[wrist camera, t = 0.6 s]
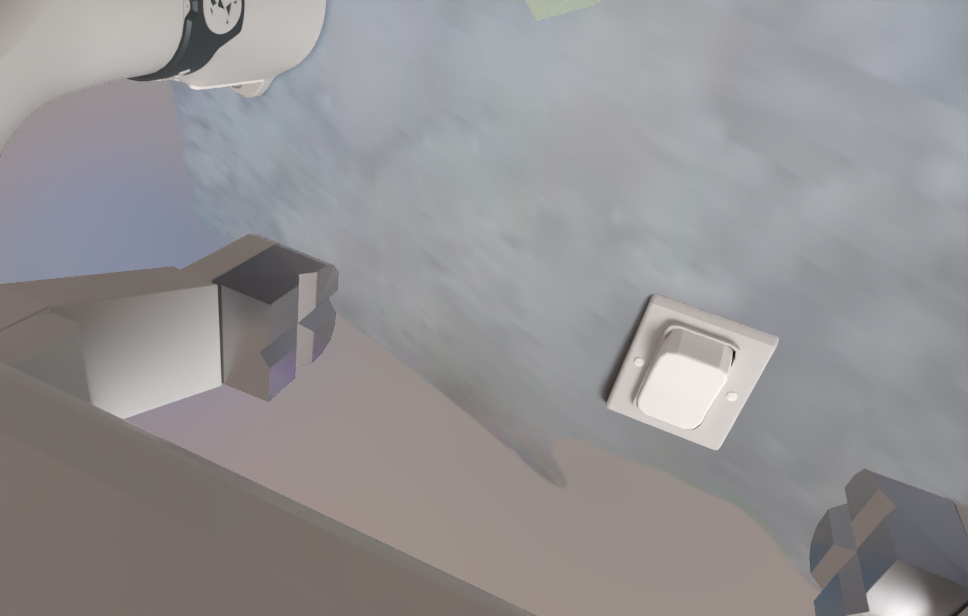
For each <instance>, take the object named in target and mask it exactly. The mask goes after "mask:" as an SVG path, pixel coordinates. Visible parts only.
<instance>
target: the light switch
mask: <svg viewBox="0 0 968 616" xmlns="http://www.w3.org/2000/svg"><path fill="white" fill-rule="evenodd" d="M778 341H779V338H778V337H776V336H773V335H771V334H768V333H765V332H762V331H759V330H757V329H754V328H751V327H748V326H745V325H742V324H740V323H737V322H734V321H731V320H728V319H726V318H723V317H720V316H717V315H714V314H711V313H709V312H706V311H703V310H700V309H697V308H695V307H692V306H689V305H686V304H683V303H681V302H678V301H675V300H672V299H669V298H666V297H664V296H661V295H658V294H653V295H652V296H651V299H650V301H649V303H648V306H647V308H646V310H645V313H644V315H643V317H642V320H641V322H640V325H639V327H638V329H637V332H636V334H635V336H634V339H633V341H632V343H631V346H630V348H629V350H628V353H627V355H626V357H625V360H624V362H623V364H622V367H621V369H620V371H619V374H618V376H617V378H616V381H615V383H614V386H613V388H612V390H611V393H610V395H609V397H608V400H607V402H606V407H607V408H608V409H611V410H613V411H616V412H618V413H621V414H623V415H626V416H629V417H631V418H634V419H636V420H639V421H641V422H644V423H646V424H649V425H652V426H654V427H657V428H659V429H662V430H664V431H667V432H669V433H672V434H675V435H677V436H680V437H682V438H685V439H687V440H690V441H693V442H695V443H698V444H700V445H703V446H705V447H708V448H710V449H713V450H718V449H719V448H720V447H721V445H722V443H723V441H724V440H725V438H726V436H727V434H728V433H729V431H730V429H731V427H732V425H733V424H734V422H735V420H736V418H737V416H738V415H739V413H740V411H741V409H742V407H743V406H744V404H745V402H746V400H747V399H748V397H749V395H750V393H751V391H752V390H753V388H754V386H755V384H756V382H757V381H758V379H759V377H760V375H761V373H762V372H763V370H764V368H765V366H766V365H767V363H768V361H769V359H770V357H771V356H772V354H773V352H774V350H775V348H776V347H777V344H778ZM729 346H730V347H731V348H730V347H729ZM733 349H734V350H735V356H734V358H733Z"/></svg>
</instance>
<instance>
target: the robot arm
mask: <svg viewBox="0 0 968 616" xmlns="http://www.w3.org/2000/svg"><path fill="white" fill-rule="evenodd" d="M325 9H326V0H0V156H1V154H2V152H3V150H4V149H5V147H6V146H7V144H8V143H9V141H10V139H11V138H12V137H13V136H14V134H15V133H16V132H17V131H18V129H19V128H20V127H21V126H22V125H23V124H24V123H25V122H26V121H27V120H28V118H29V117H30V116H31V115H33V114H34V113H35V112H36V111H38V110H39V109H40V108H41V107H43V106H44V105H45V104H47V103H49V102H51V101H53V100H54V99H56V98H59V97H61V96H64V95H67V94H69V93H73V92H76V91H79V90H82V89H86V88H89V87H93V86H97V85H100V84H104V83H108V82H113V81H117V80H122V79H130V80H135V81H164V80H170V79H172V80H175V81H182V82H184V83H186V84H188V85H189V87H190V88H191V89H197V90H202V89H210V88H218V87H228V88H230V89H232V90H234V91H235V92H237V93H239V94H241V95H243V96H245V97H249V98H251V97H259V96H260V95H262V94H263V93H264V92H265V91H266V89H267V88H268V87H269V85H270V84H271V82H272V80H273V79H274V78H275V77H276V76H277V75H279V74H281V73H282V72H285V71H287V70H289V69H291V68H293V67H294V66H296V65H297V64H299V63H300V62H301V61H302V60H303V59H304V58H305V57H306V56H307V55H308V54H309V53H310V51H311V50H312V48H313V47H314V45H315V43H316V41H317V39H318V37H319V35H320V32H321V29H322V25H323V21H324V16H325ZM338 273H339V272H338V271H337V269H336V268H335V266H334V265H332V264H330V263H327V262H325V261H322V260H320V259H317V258H315V257H312V256H310V255H307V254H305V253H303V252H300V251H298V250H295V249H293V248H290V247H288V246H285V245H281V244H280V243H278V242H275V241H273V240H270V239H267V238H265V237H262V236H259V235H253V234H248V235H246V236H244V237H242V238H241V239H239V240H237V241H235V242H233V243H231V244H229V245H227V246H225V247H223V248H221V249H220V250H217V251H216V252H214V253H212V254H210V255H208V256H206V257H204V258H202V259H200V260H198V261H197V262H194V263H193V264H191V265H189V266H187V267H185V268H183V269H181V270H180V269H178V268H175V267H173V266H172V267H162V268H153V269H143V270H133V271H123V272H114V273H105V274H94V275H85V276H75V277H66V278H56V279H46V280H36V281H26V282H16V283H7V284H0V616H537V615H534V614H532V613H530V612H528V611H526V610H524V609H522V608H520V607H518V606H516V605H514V604H511V603H509V602H507V601H505V600H503V599H501V598H499V597H497V596H494V595H493V594H490V593H488V592H486V591H484V590H482V589H480V588H477V587H476V586H473V585H471V584H469V583H467V582H465V581H463V580H461V579H459V578H456V577H455V576H453V575H450V574H448V573H446V572H444V571H442V570H440V569H438V568H436V567H433V566H432V565H429V564H427V563H425V562H423V561H421V560H419V559H417V558H415V557H413V556H410V555H408V554H406V553H404V552H402V551H400V550H398V549H396V548H394V547H391V546H389V545H387V544H385V543H383V542H381V541H379V540H377V539H375V538H372V537H370V536H368V535H366V534H364V533H362V532H360V531H358V530H355V529H353V528H351V527H349V526H347V525H345V524H343V523H340V522H339V521H337V520H334V519H332V518H330V517H328V516H326V515H324V514H322V513H320V512H317V511H315V510H313V509H311V508H309V507H307V506H305V505H303V504H301V503H299V502H296V501H294V500H292V499H290V498H288V497H286V496H284V495H281V494H279V493H277V492H275V491H273V490H271V489H269V488H267V487H265V486H263V485H260V484H258V483H256V482H254V481H252V480H250V479H248V478H246V477H243V476H241V475H239V474H237V473H235V472H233V471H231V470H229V469H227V468H225V467H222V466H220V465H218V464H216V463H214V462H212V461H210V460H208V459H205V458H203V457H201V456H199V455H197V454H195V453H193V452H191V451H188V450H186V449H184V448H182V447H180V446H178V445H176V444H174V443H172V442H170V441H168V440H165V439H164V438H161V437H159V436H157V435H155V434H153V433H151V432H149V431H147V430H145V429H143V428H140V427H138V426H136V425H134V424H132V423H130V422H128V421H126V420H124V419H125V418H127V417H130V416H133V415H136V414H139V413H142V412H145V411H148V410H151V409H154V408H157V407H160V406H162V405H166V404H169V403H171V402H174V401H177V400H180V399H183V398H186V397H189V396H192V395H195V394H198V393H201V392H204V391H207V390H210V389H213V388H215V387H219V386H221V385H222V383H224V384H226V385H228V386H231V387H233V388H236V389H238V390H241V391H243V392H246V393H248V394H251V395H253V396H255V397H258V398H260V399H263V400H265V401H268V402H269V401H271V400H272V399H273V398H274V397H275V396H276V395H277V394H278V393H280V392H281V391H282V390H283V389H284V388H285V387H286V386H287V385H288V384H289V383H291V382H292V381H293V380H294V379H295V371H296V367H299V366H303V365H307V364H311V363H313V362H314V361H315V360H316V359H317V358H318V357H319V356H320V355H321V354H322V353H323V351H324V349H325V348H326V346H327V344H328V343H329V341H330V339H331V336H332V333H333V330H334V326H335V317H336V312H335V310H334V308H333V306H332V304H331V302H330V300H329V297H331V296H332V295H333V294H334V293H335V292H336V291H337V290H338ZM845 492H846V497H847V504H843V505H840V506H837V507H834V508H831V509H828V510H827V512H826V513H825V515H824V516H823V518H822V519H821V521H820V522H819V523H818V525H817V527H816V530H815V533H814V536H813V539H812V541H811V546H810V556H809V560H810V571H811V574H812V576H813V577H814V579H815V580H816V581H817V583H818V584H819V586H820V587H821V588H822V592H821V593H820V594H819V595H818V597H817V598H816V599H815V600H814V606H815V615H816V616H968V505H966V504H963V503H960V502H957V501H954V500H952V499H949V498H946V497H945V498H944V497H941V496H938V495H936V494H933V493H930V492H927V491H925V490H922V489H919V488H916V487H914V486H911V485H908V484H905V483H903V482H900V481H897V480H894V479H892V478H889V477H886V476H883V475H881V474H878V473H875V472H872V471H870V470H867V469H863V470H862V471H860V472H859V473H857V474H856V475H854V477H853V478H852V479H851V480H850V482H849V483H848V484H847V485H846V487H845Z"/></svg>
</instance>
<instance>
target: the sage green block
mask: <svg viewBox="0 0 968 616" xmlns="http://www.w3.org/2000/svg"><path fill="white" fill-rule="evenodd" d="M525 1H526V2H527V4H528V6H529V8H530V10H531V12H532V14H533V16H534V17H535V19H536V20H540V19H544V18H547V17H551V16H555V15H559V14H563V13H567V12H571V11H575V10H578V9H582V8H586V7H590V6H594V5H595V4H596V3H598V2H599V1H601V0H525Z"/></svg>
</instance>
